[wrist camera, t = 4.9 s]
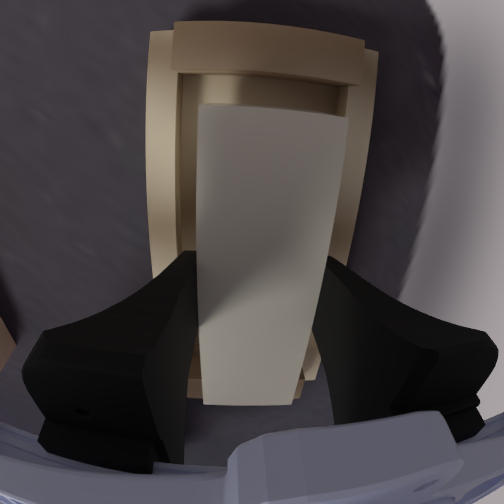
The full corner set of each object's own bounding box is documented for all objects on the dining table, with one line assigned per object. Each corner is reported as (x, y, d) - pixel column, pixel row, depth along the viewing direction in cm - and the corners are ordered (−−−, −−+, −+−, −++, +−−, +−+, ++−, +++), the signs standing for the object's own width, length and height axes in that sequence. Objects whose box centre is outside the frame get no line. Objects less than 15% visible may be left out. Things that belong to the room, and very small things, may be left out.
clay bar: (281, 345, 17) (291, 404, 13) (207, 344, 16) (203, 404, 13) (314, 110, 11) (349, 118, 8) (210, 102, 11) (198, 105, 7)
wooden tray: (308, 355, 20) (319, 397, 17) (172, 352, 20) (164, 395, 16) (359, 56, 12) (394, 48, 9) (162, 40, 11) (140, 24, 8)
